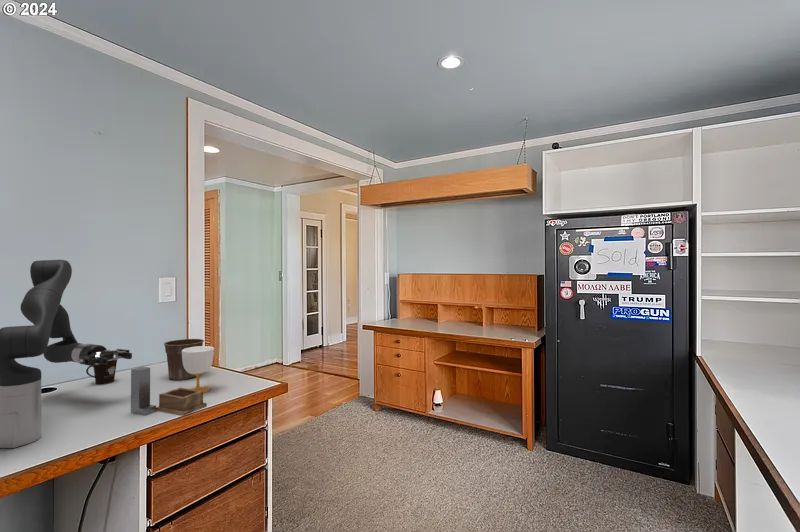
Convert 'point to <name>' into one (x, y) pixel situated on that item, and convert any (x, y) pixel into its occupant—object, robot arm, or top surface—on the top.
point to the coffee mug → (104, 372)
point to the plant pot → (179, 357)
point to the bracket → (141, 391)
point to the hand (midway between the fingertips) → (119, 358)
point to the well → (180, 401)
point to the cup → (198, 362)
